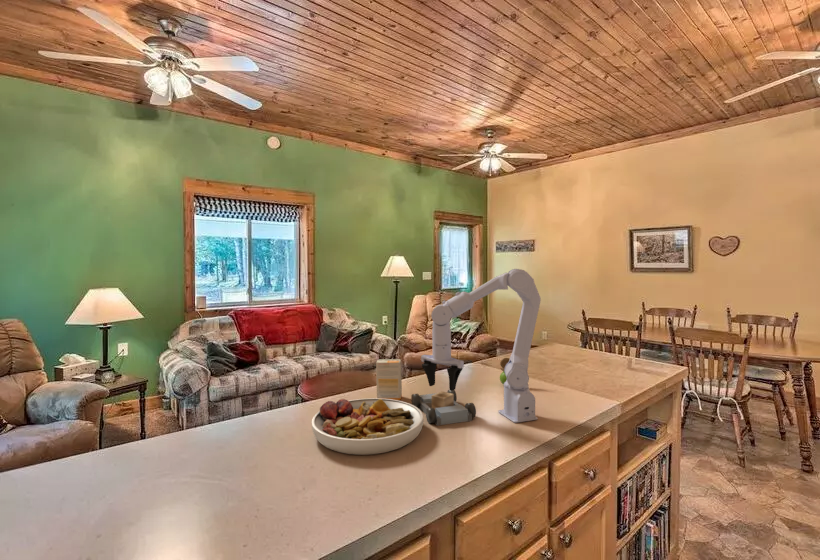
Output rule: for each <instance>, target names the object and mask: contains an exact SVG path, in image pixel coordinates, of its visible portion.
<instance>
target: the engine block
mask: <svg viewBox="0 0 820 560" xmlns="http://www.w3.org/2000/svg"><path fill="white" fill-rule="evenodd" d="M436 393H437V394H434V393H433V394H434V395H432V408H434V409H435V408H440V407H447V406H454V394H452V393H447V391H443V390H441V391H439V392H436Z"/></svg>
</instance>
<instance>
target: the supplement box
mask: <svg viewBox="0 0 820 560" xmlns="http://www.w3.org/2000/svg"><path fill="white" fill-rule="evenodd" d="M375 368H376V369H375V371H376V372H375V373H376V375H375V377H376V378H375V379H376V398H383V399H393V400H399V401H402V400H401V399H402V396H403V392H402V391H403V390H402V389H403V388H402V385H403V384H402V383H403V382H402V359H401V358H400V359H399V358H397V359H396V358H391V359H390V358H387V359H386V358H385V359H382V358H379V359H377V360H376V362H375Z"/></svg>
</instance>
